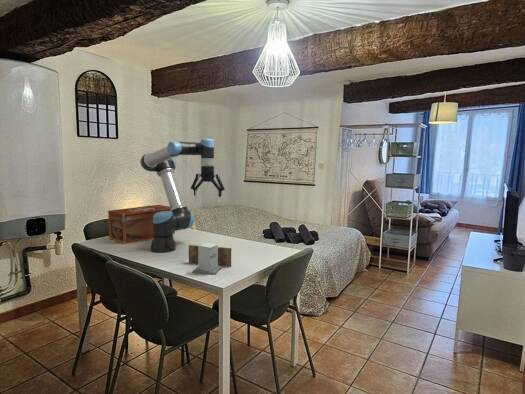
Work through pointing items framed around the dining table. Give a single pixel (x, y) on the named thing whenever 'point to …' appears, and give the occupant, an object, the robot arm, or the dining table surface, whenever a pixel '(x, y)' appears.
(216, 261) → the supplement box
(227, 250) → the walnut screen
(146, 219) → the wooden box
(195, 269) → the mat
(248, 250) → the dining table surface
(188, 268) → the dining table surface
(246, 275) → the dining table surface
